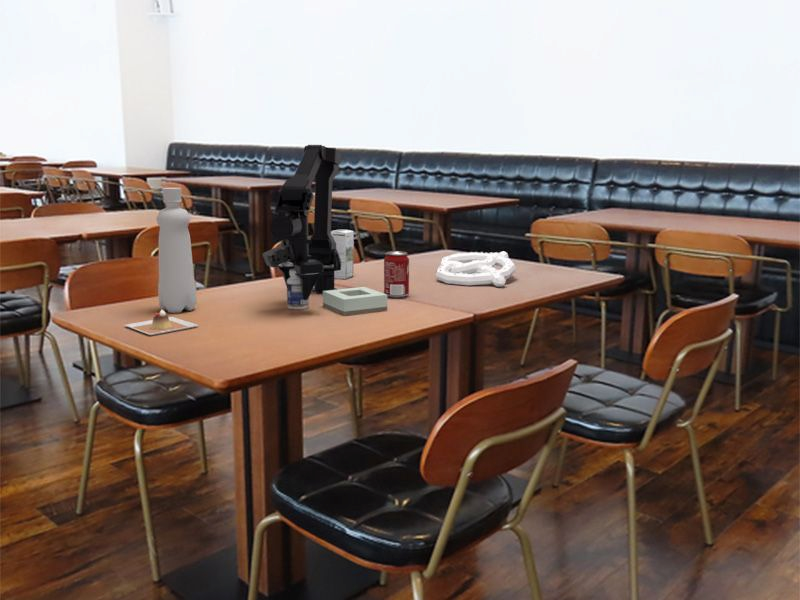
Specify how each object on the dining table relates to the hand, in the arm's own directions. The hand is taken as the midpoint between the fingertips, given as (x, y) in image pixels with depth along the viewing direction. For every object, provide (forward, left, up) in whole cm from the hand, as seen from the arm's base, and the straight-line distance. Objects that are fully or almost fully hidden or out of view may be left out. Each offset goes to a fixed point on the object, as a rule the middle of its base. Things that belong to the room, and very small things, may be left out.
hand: (297, 296), depth 195 cm
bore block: (+8, +12, -3) cm, 15 cm away
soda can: (0, +29, -3) cm, 29 cm away
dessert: (+4, -35, -4) cm, 36 cm away
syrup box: (-33, +29, -3) cm, 44 cm away
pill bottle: (0, 0, -3) cm, 3 cm away
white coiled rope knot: (-11, +64, -3) cm, 65 cm away
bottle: (-12, -27, -3) cm, 30 cm away
